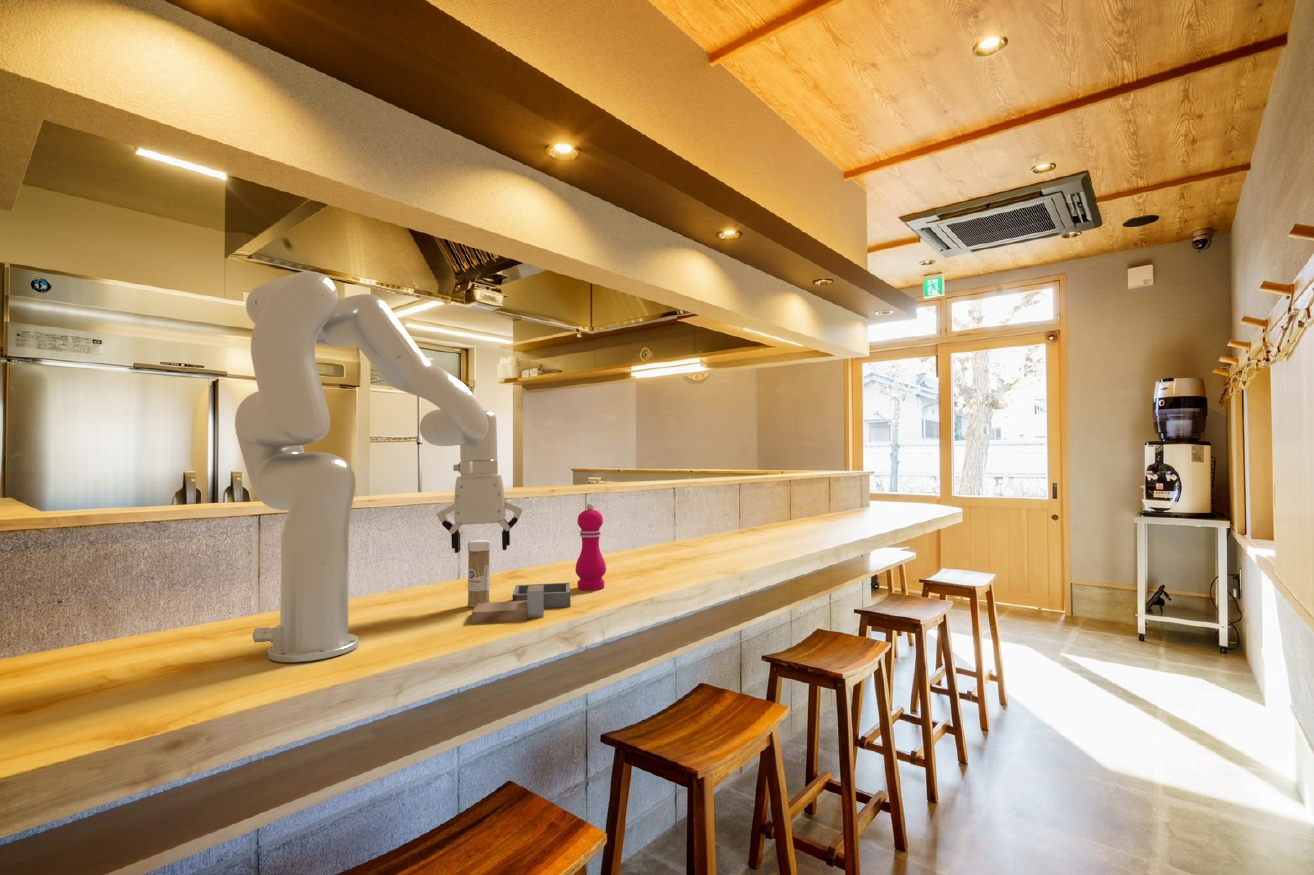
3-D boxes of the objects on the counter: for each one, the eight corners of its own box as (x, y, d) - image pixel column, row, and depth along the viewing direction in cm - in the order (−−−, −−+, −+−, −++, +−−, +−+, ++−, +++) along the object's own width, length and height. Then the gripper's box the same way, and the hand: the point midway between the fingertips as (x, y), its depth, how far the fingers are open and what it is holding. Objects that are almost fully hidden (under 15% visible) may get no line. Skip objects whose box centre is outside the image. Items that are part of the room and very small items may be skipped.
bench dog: (527, 618, 116) (527, 591, 116) (528, 610, 122) (528, 585, 122) (543, 617, 117) (543, 590, 117) (544, 609, 123) (543, 584, 123)
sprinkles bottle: (463, 607, 126) (463, 542, 126) (475, 602, 130) (475, 539, 131) (483, 608, 125) (482, 542, 125) (494, 603, 129) (494, 539, 130)
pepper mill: (608, 585, 147) (607, 501, 148) (603, 591, 140) (602, 503, 141) (579, 584, 148) (578, 502, 149) (572, 591, 141) (571, 504, 142)
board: (471, 626, 113) (471, 612, 113) (477, 615, 121) (477, 603, 121) (526, 622, 114) (526, 609, 115) (528, 612, 122) (528, 600, 122)
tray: (512, 609, 123) (512, 595, 123) (516, 598, 134) (515, 585, 134) (570, 606, 125) (570, 592, 125) (569, 595, 136) (569, 582, 136)
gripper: (432, 471, 124) (434, 556, 123) (520, 468, 126) (522, 551, 126) (439, 470, 131) (441, 550, 131) (522, 467, 134) (524, 545, 134)
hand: (481, 550), depth 128 cm, fingers open, 9 cm apart
